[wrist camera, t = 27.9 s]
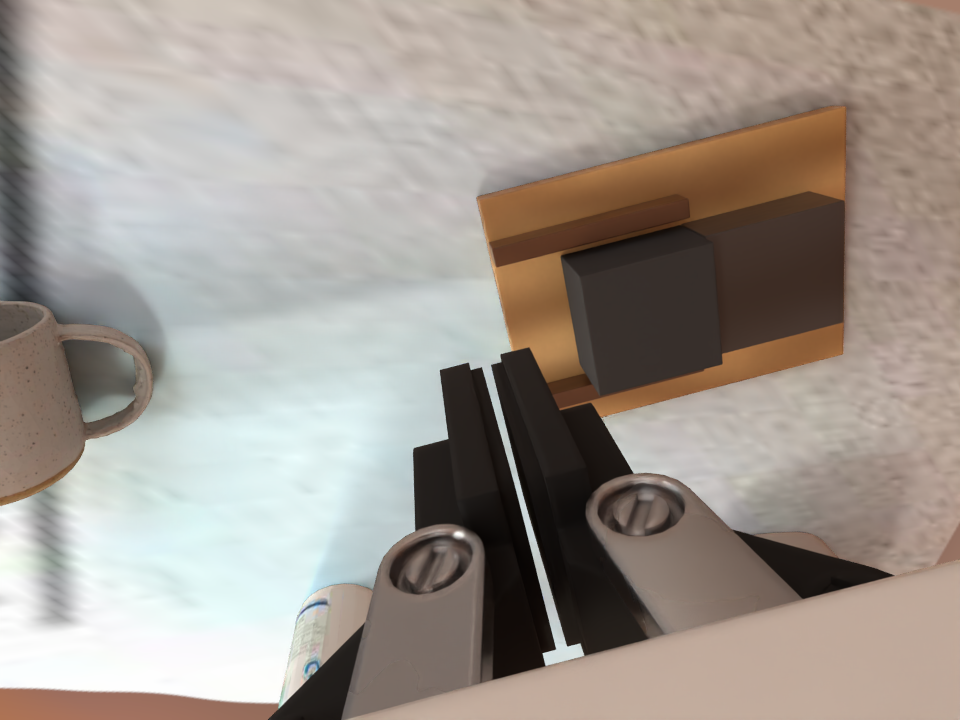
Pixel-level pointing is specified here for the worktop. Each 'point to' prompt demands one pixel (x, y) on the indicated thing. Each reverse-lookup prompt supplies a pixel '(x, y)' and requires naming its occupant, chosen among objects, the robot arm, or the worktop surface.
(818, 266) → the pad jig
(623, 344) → the dark grey square block
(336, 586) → the spray can
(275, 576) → the worktop surface
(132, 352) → the ceramic mug
